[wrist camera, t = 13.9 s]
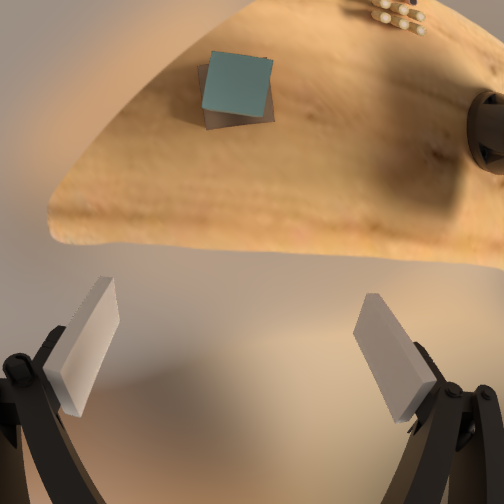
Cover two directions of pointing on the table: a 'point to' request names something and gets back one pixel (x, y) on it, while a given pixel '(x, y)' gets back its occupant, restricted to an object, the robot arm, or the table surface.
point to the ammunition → (384, 2)
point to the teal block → (237, 84)
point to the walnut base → (227, 119)
